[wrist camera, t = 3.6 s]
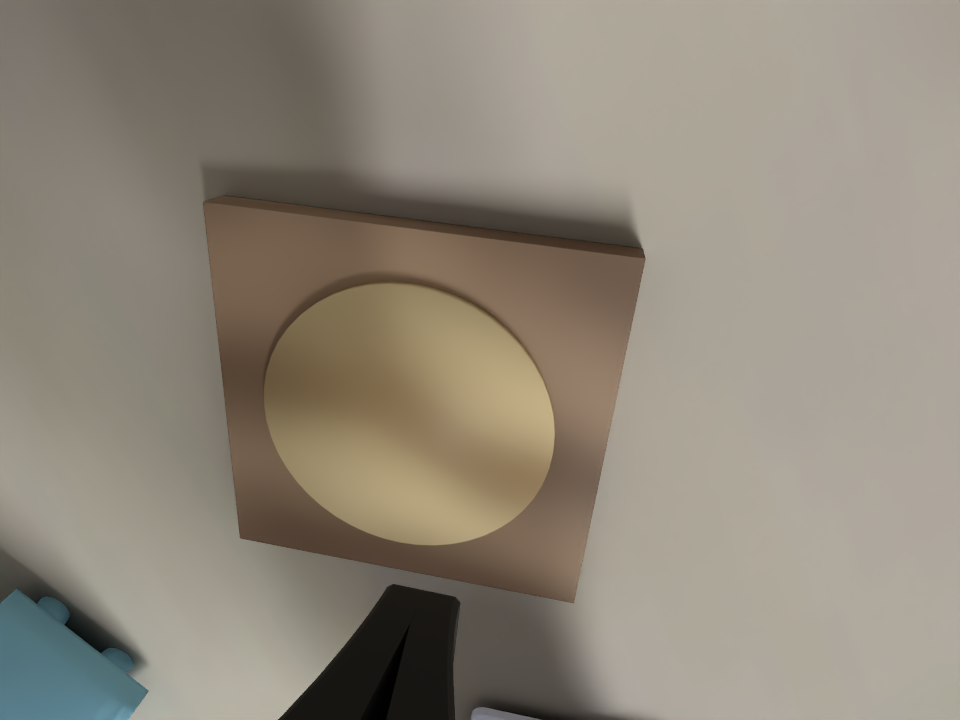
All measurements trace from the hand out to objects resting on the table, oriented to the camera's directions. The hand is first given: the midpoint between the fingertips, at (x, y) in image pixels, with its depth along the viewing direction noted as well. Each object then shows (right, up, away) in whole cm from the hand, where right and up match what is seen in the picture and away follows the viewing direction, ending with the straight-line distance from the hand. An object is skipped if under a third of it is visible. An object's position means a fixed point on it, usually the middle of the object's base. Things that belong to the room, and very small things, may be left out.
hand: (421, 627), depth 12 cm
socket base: (-1, +4, +8) cm, 9 cm away
